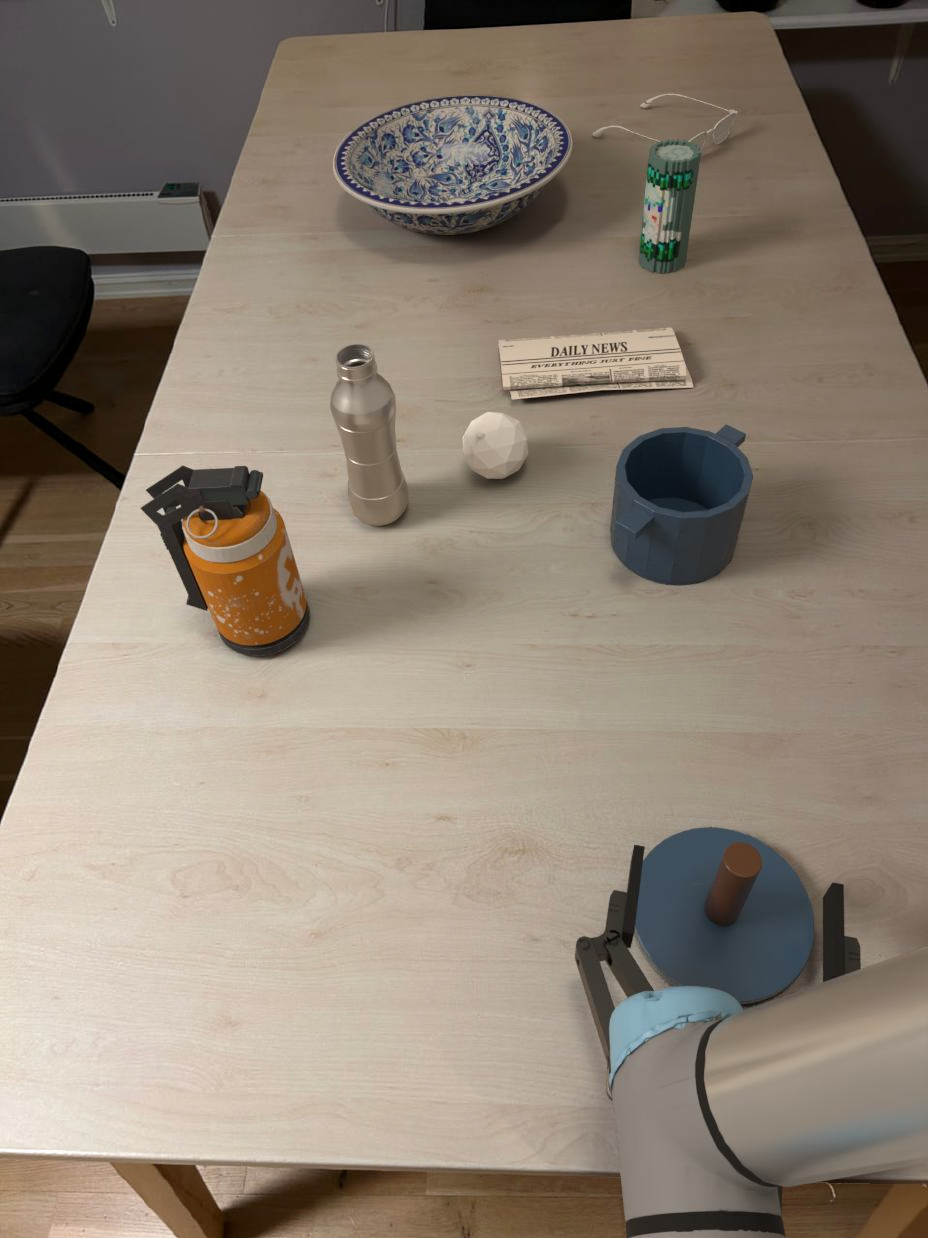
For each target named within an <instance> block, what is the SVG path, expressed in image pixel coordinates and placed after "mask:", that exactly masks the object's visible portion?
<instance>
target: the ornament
mask: <svg viewBox="0 0 928 1238" xmlns="http://www.w3.org/2000/svg"><path fill="white" fill-rule="evenodd" d="M461 440H462V441H461V442H462V455H463V457H464V459H465V461H466V462H467V464H468V466H469V468H470V470H471V471H473V472H475V473H476V474H478V475H479V476H482V477H483V478H485V479H490V480H491V479H492V480H504V479H505V478H507V477H509V476H511V475H513V474H515V473H516V472H518V471H520V470H521V468H522V466H523V464H524V463H525V460H526V459H527V457H528V455H529V444H528V436H527V434H526V432H525V430H524V427H523V426H522V422H521V421H520V420H518V419H516V418H514V417H512V416H510V415H508V414H507V413H505V412H495V411H486V412H485V413H483V414H481V415H480V416H478V417H476V418H474V419H472V420H471V421H470V423H469V424H468V427H467V428H466V430H465V431H464V433H463V436H462V439H461Z"/></svg>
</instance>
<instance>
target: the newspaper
mask: <svg viewBox="0 0 928 1238" xmlns="http://www.w3.org/2000/svg"><path fill="white" fill-rule="evenodd" d="M497 344H498V345H497V346H498V351H499V359H500V368H501V380H502V381H501V382H502V391H509V393H510V397H511V400H522V399H530V398H540V397H551V396H560V395H568V394H578V393H579V394H580V393H587V392H599V391H614V390H615V391H617V390H618V391H620V390H621V391H623V390H653V389H654V390H657V389H658V390H659V389H692V388H694V384H693V379H692V377H691V374H690V371H689V369H688V367H687V365H686V362H685V358H684V356H683V352H682V350H681V346H680V344H679V341H678V339H677V336H676V334H675V331H674V329H673V328H672V327H659V328H658V327H657V328H647V329H644V328H643V329H632V330H617V331H605V332H604V331H603V332H593V333H592V332H591V333H590V332H589V333H577V334H564V335H562V334H561V335H550V336H549V335H548V336H536V337H523V338H511V339H509V338H508V339H498V340H497Z"/></svg>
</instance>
